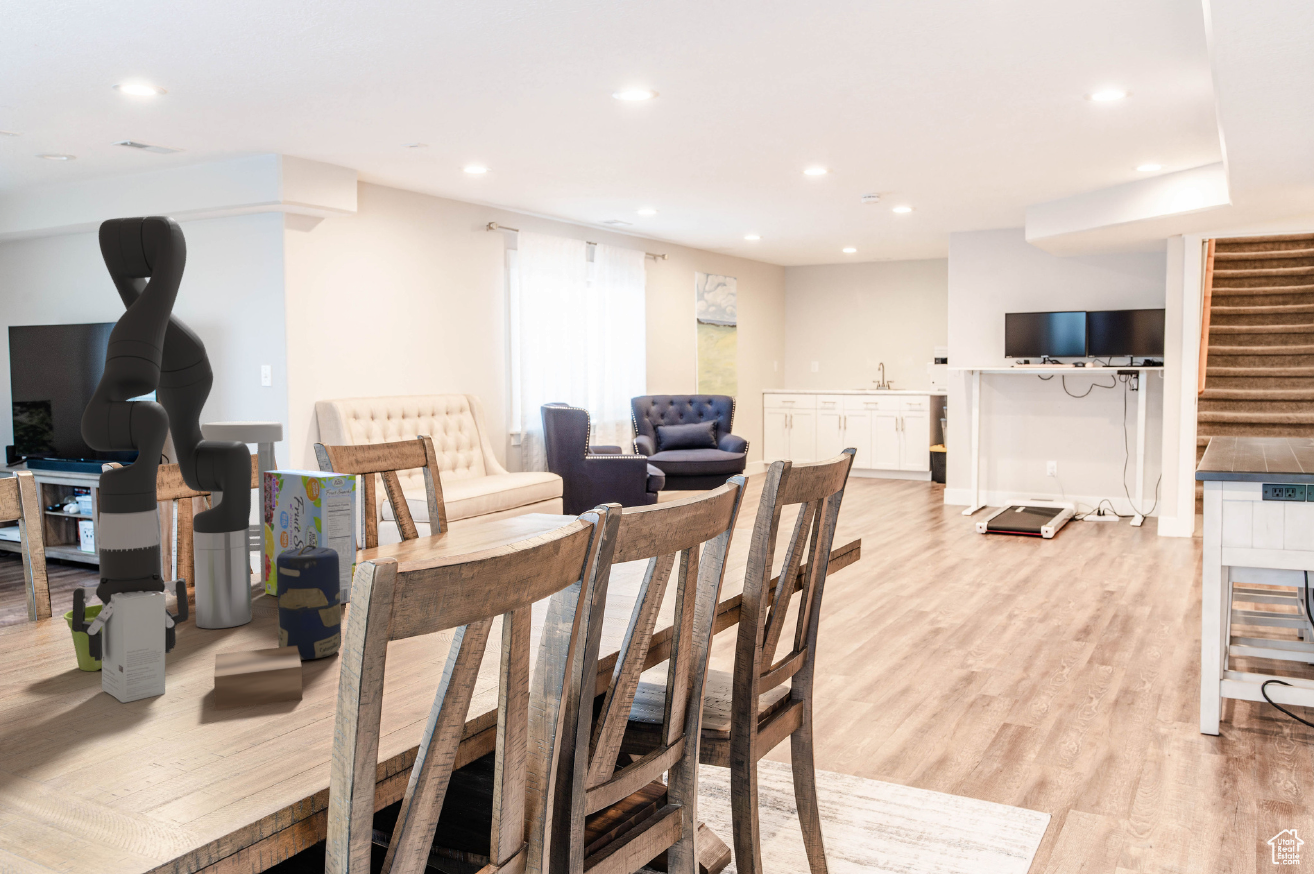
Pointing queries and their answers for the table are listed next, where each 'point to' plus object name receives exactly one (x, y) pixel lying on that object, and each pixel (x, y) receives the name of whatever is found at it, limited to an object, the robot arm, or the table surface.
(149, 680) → the skincare box
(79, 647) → the plant pot
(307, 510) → the snack box
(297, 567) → the canister
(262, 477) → the stool
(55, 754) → the table surface
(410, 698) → the table surface
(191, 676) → the table surface
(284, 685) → the walnut block
